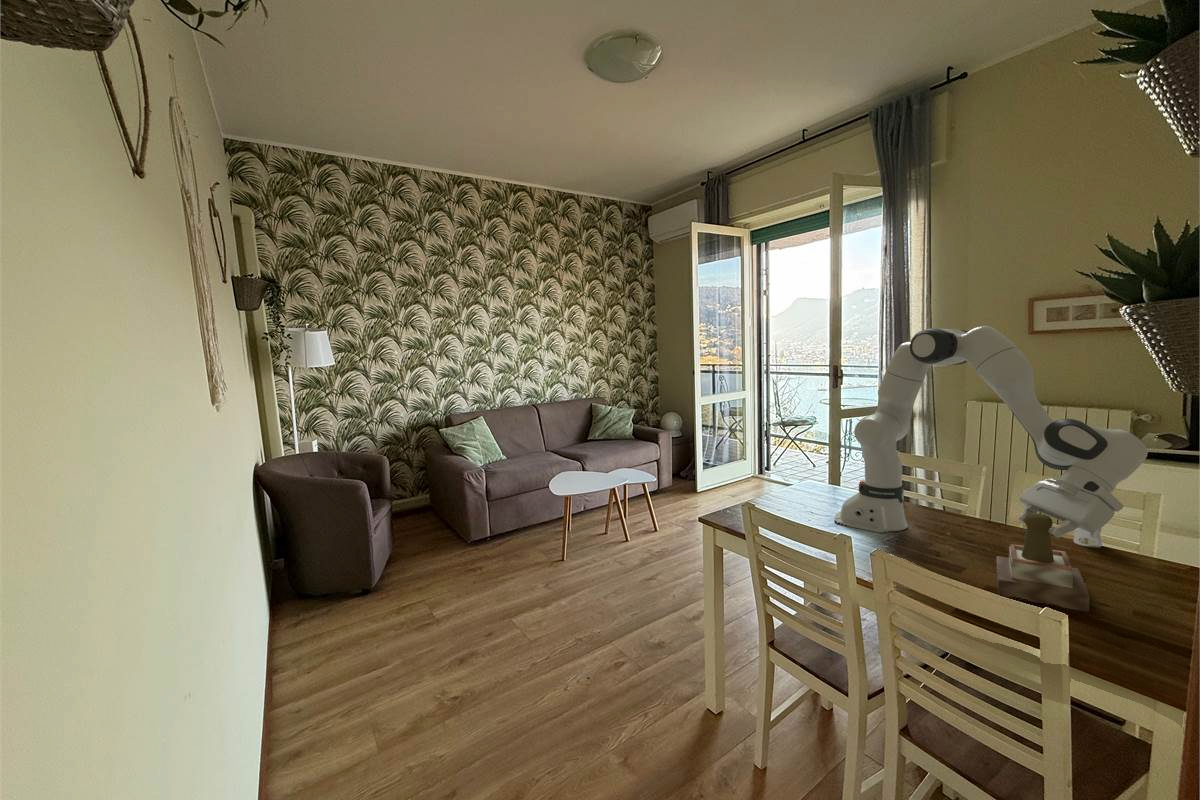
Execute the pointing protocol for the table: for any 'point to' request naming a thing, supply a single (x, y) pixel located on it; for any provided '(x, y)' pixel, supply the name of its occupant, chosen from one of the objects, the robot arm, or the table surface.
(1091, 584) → the table surface
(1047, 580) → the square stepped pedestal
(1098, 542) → the beer glass
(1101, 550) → the table surface
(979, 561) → the table surface
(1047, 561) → the cork
